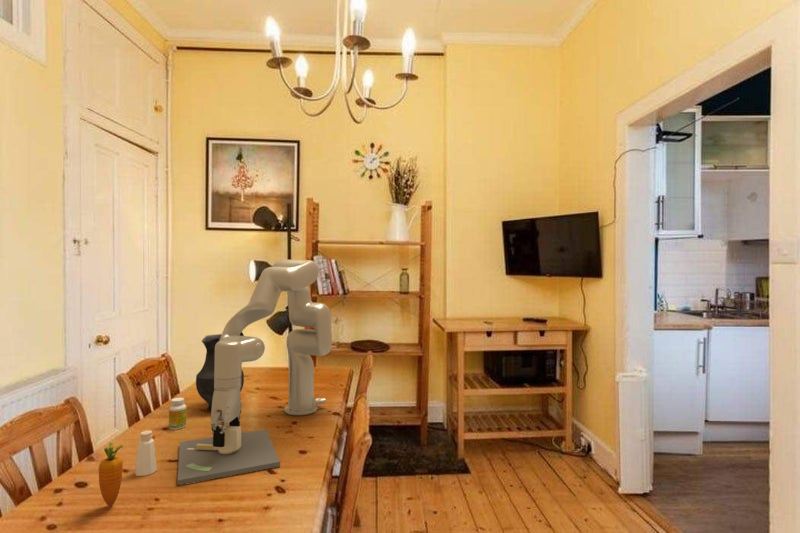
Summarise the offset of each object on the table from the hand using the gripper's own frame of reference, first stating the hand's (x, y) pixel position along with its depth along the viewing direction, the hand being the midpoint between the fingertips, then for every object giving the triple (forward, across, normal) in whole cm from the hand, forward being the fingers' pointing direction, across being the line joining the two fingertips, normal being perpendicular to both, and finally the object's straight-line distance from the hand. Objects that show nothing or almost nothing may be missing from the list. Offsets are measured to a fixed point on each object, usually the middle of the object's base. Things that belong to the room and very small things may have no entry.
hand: (226, 439), depth 130 cm
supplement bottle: (+5, -20, -28) cm, 35 cm away
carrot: (+6, +28, -15) cm, 32 cm away
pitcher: (+5, -42, -22) cm, 48 cm away
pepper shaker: (+6, +11, -18) cm, 21 cm away
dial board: (+5, 0, 0) cm, 5 cm away
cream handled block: (+3, 0, -3) cm, 4 cm away
